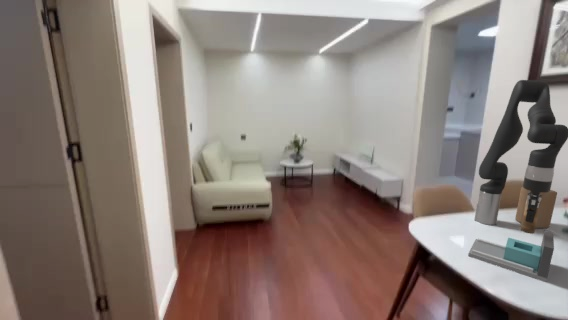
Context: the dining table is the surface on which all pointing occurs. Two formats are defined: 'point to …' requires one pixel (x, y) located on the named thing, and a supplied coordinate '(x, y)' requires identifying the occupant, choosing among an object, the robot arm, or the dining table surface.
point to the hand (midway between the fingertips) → (529, 219)
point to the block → (544, 210)
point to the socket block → (522, 253)
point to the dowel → (529, 226)
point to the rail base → (496, 254)
